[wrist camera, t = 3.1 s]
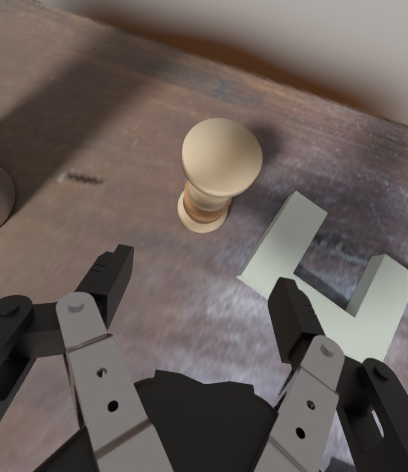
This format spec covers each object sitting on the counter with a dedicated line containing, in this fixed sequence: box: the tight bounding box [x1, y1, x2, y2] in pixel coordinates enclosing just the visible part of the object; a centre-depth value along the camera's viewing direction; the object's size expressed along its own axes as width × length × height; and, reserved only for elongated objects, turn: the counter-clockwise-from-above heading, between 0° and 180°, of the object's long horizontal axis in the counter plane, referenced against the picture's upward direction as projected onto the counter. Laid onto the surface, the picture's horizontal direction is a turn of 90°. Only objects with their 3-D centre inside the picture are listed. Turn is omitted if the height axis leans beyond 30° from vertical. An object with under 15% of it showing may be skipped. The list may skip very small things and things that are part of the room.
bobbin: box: [178, 118, 262, 234], centre depth 23 cm, size 6×6×12 cm
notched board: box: [236, 191, 408, 363], centre depth 28 cm, size 17×12×2 cm
